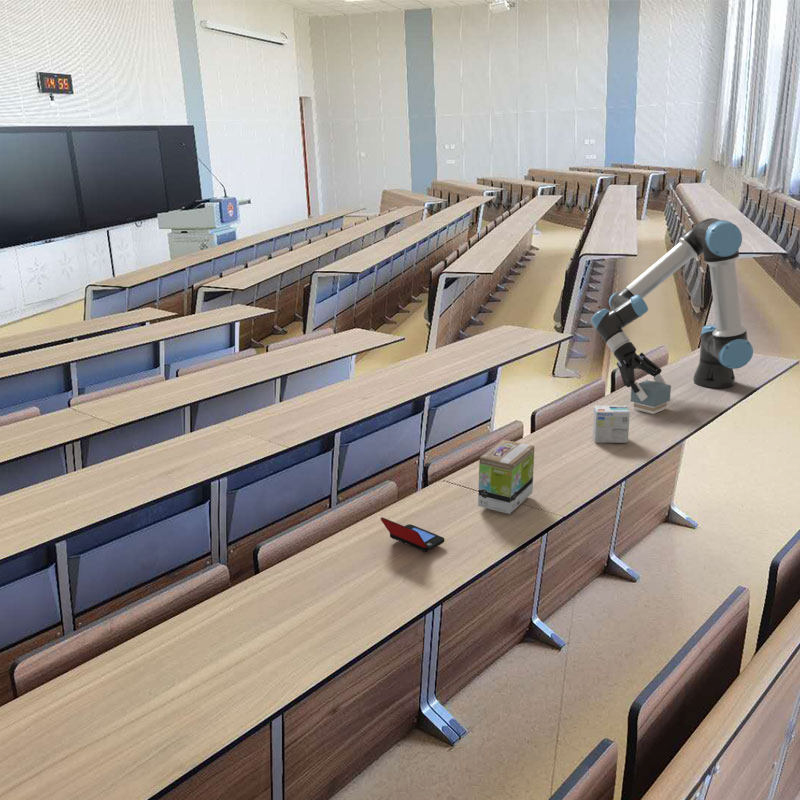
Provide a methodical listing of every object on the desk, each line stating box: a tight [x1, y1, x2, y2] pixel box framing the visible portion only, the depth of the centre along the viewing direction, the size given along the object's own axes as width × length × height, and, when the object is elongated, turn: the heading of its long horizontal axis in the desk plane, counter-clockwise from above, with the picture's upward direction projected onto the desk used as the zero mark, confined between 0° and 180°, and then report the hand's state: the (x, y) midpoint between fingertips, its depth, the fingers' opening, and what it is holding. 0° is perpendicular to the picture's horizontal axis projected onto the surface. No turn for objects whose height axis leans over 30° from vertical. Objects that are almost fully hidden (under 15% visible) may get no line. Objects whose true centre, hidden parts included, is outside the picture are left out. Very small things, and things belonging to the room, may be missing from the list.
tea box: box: [477, 439, 535, 515], centre depth 211 cm, size 15×10×15 cm
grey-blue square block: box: [630, 379, 672, 407], centre depth 278 cm, size 10×10×6 cm
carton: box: [633, 402, 668, 415], centre depth 279 cm, size 8×8×8 cm
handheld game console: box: [380, 516, 445, 554], centre depth 192 cm, size 12×11×7 cm
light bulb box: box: [592, 404, 631, 444], centre depth 252 cm, size 11×7×11 cm, turn 84°
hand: (655, 394), depth 277 cm, fingers open, 13 cm apart
